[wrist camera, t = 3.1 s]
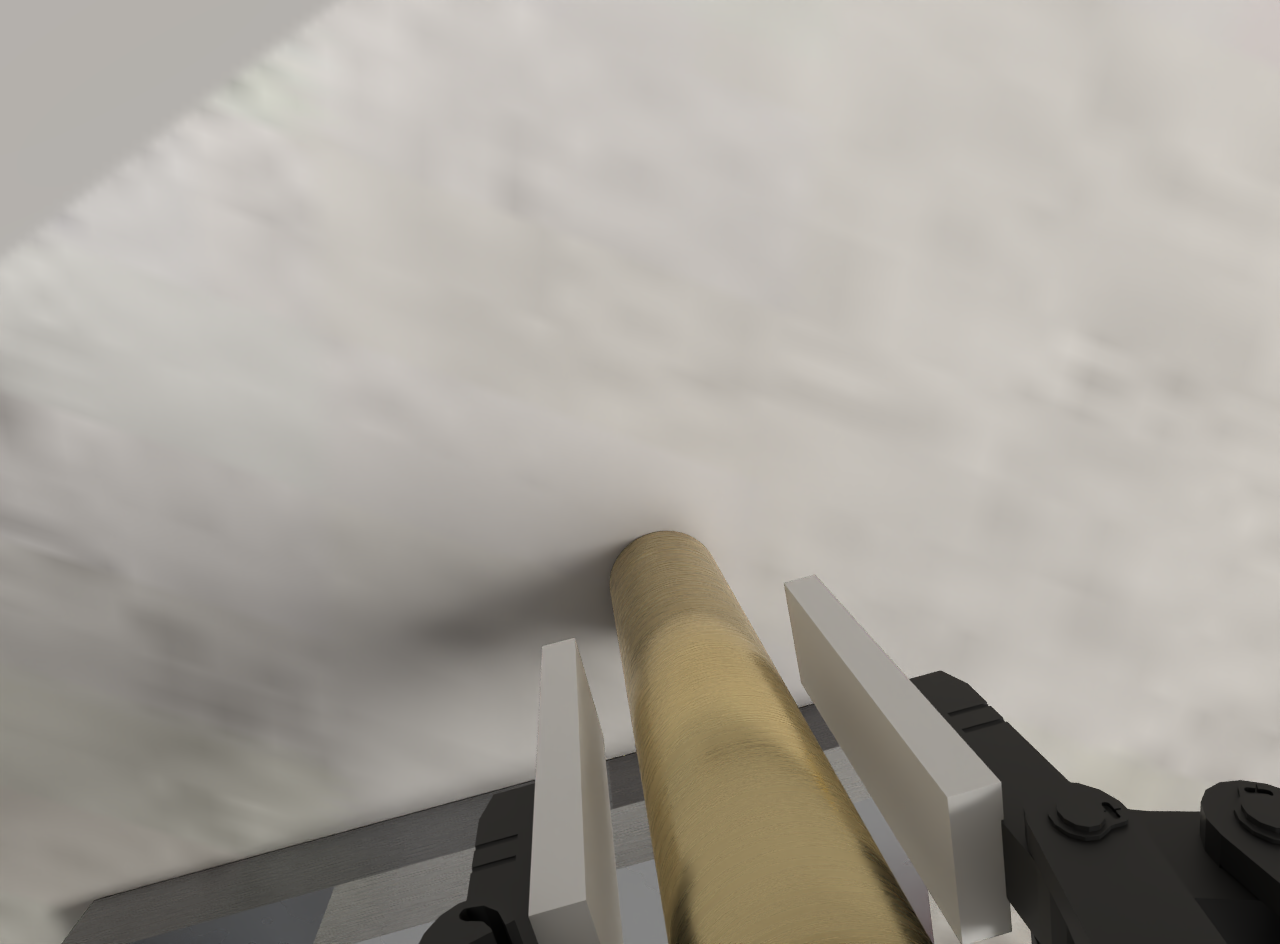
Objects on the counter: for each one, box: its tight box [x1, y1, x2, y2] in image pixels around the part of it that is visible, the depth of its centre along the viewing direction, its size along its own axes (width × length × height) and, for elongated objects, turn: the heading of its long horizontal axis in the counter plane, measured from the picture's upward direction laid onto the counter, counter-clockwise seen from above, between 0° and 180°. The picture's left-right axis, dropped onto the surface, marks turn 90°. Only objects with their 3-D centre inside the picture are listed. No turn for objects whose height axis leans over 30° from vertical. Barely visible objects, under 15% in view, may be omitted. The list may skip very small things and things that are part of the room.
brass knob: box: [610, 531, 933, 944], centre depth 12 cm, size 5×5×14 cm
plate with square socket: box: [62, 704, 934, 944], centre depth 19 cm, size 24×7×4 cm, turn 103°
